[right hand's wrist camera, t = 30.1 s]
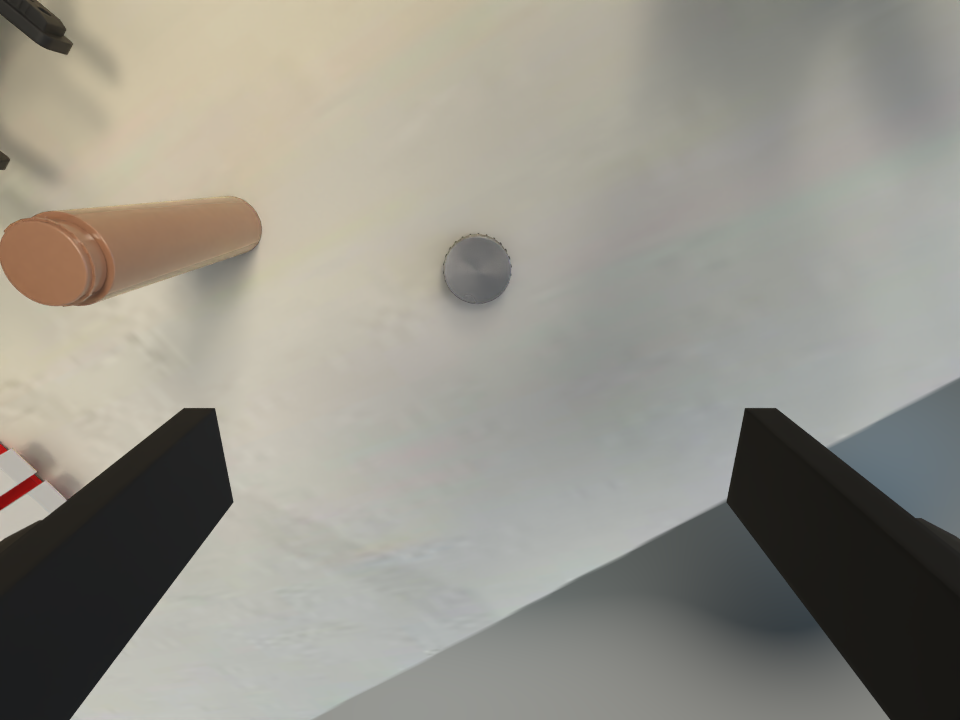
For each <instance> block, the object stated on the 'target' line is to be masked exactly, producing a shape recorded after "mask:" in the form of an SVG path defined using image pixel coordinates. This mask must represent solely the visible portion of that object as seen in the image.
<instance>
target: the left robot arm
mask: <svg viewBox="0 0 960 720" xmlns="http://www.w3.org/2000/svg"><path fill="white" fill-rule="evenodd" d="M0 14H1V15H2V16H4V17H5V18H6V19H7V20H9V21H10V22H11V23H12V24H13V25H15V26H16V27H17V28H18V29H20V30H21V31H22V32H23V33H25V34H26V35H27V36H28V37H29V38H31V39H32V40H33V41H34V42H36V43H37V44H39V45H40V46H42V47H44V48H46V49H49V50H52V51H55V52H59V53H62V54H66V55H68V53H69V51H70V49H71V47H72V45H73V43H72V42H71V41H70V40H69V39H67V38H66V37H65V36H64V33H65V31H66V28H65V27H64V25H63V24H62V22H61V21H60V19H58V18H57V17H56V16H55V15H54V14H52V13H51V12H50V11H49V10H48V9H46V8H45V7H44V6H43V5H42V4H40V3H39V2H38V1H37V0H0ZM9 161H10V159H9V157H8V156H6V155H5V154H4V153H2V152H1V151H0V170H5V168H6V167H7V165H8V163H9Z"/></svg>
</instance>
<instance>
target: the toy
mask: <svg viewBox="0 0 960 720" xmlns="http://www.w3.org/2000/svg"><path fill="white" fill-rule="evenodd" d="M36 472H37V471H36V470H35V469H34V468H33V467H32V466H31V465H30V464H29V463H27V462H26V461H25V460H24V459H23V458H22V457H21V456H20V455H19V454H18V453H17V452H16V451H15V450H14V449H13V448H11V449H10V450H7V449H5V448H4V447H3V446H2V445H1V444H0V541H2V540H3V539H4V538H6V537H8V536H10V535H12V534H14V533H16V532H18V531H19V530H21V529H23V528H25V527H27V526H29V525H31V524H33V523H35V522H37V521H39V520H43V519H44V518H45V517H47V516H48V515H49V514H51V513H52V512H53V511H54V510H56V509H57V508H58V507H59V506H61V505H62V504H63V503H64V502H66V501H67V500H66V499H65V498H64V497H63V496H62V495H61V494H60V493H59V492H58V491H57V490H56V489H55V488H54V487H53V486H52V485H51V484H50V483H49V482H47V481H44V482H42V481H41V480H40V479H39V478H38V477H36V476H35V475H34V474H35V473H36Z"/></svg>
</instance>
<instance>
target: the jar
mask: <svg viewBox="0 0 960 720" xmlns="http://www.w3.org/2000/svg"><path fill="white" fill-rule="evenodd" d="M4 232H5V234H4V235H3V237H2V239H1V242H0V263H1V266H2V269H3V271H4V273H5V275H6V276H7V278H8V280H9V281H10V282H11V283H12V285H13V286H14V287H15V288H16V289H17V290H18V291H19V292H21V293H22V294H23V295H25V296H26V297H28V298H29V299H31V300H33V301H35V302H38V303H41V304H44V305H49V306H63V307H64V306H72V305H74V306H85V305H91V304H94V303H97V302H100V301H103V300H106V299H109V298H112V297H115V296H118V295H121V294H124V293H127V292H130V291H133V290H136V289H139V288H142V287H145V286H148V285H151V284H154V283H157V282H160V281H163V280H166V279H169V278H172V277H175V276H178V275H181V274H184V273H187V272H190V271H193V270H196V269H199V268H202V267H205V266H208V265H211V264H214V263H217V262H220V261H223V260H226V259H229V258H232V257H235V256H238V255H241V254H244V253H246V252H249V251H251V250H252V249H253V248H254V247H255V246H256V245H257V244H258V242H259V240H260V237H261V222H260V219H259V217H258V215H257V213H256V211H255V210H254V209H253V208H252V207H251V205H249V204H248V203H247V202H245V201H244V200H242V199H240V198H237V197H233V196H223V197H211V198H199V199H187V200H176V201H164V202H152V203H140V204H129V205H117V206H105V207H93V208H82V209H70V210H58V211H47V212H42V213H39V214H37V215H35V216H33V217H32V218H27V219H20V220H18V221H16V222H14V223H12V224H10V225H9V226H8V227H7V228H6V229H5V230H4Z"/></svg>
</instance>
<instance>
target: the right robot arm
mask: <svg viewBox="0 0 960 720" xmlns="http://www.w3.org/2000/svg"><path fill="white" fill-rule="evenodd" d="M232 503H233V498H232V492H231V487H230V482H229V477H228V472H227V467H226V462H225V457H224V452H223V447H222V442H221V437H220V432H219V426H218V421H217V416H216V411H215V408H184V409H182V410H181V411H180V412H179V413H177V414H176V415H175V416H173V417H172V418H171V419H170V420H168V421H167V422H166V423H165V424H163V425H162V426H161V427H160V428H158V429H157V430H156V431H154V432H153V433H152V434H151V435H149V436H148V437H147V438H146V439H144V440H143V441H142V442H141V443H139V444H138V445H137V446H135V447H134V448H133V449H132V450H130V451H129V452H128V453H127V454H125V455H124V456H123V457H122V458H120V459H119V460H118V461H116V462H115V463H114V464H113V465H111V466H110V467H109V468H108V469H106V470H105V471H104V472H102V473H101V474H100V475H99V476H97V477H96V478H95V479H94V480H92V481H91V482H90V483H89V484H87V485H86V486H85V487H83V488H82V489H81V490H80V491H78V492H77V493H76V494H75V495H73V496H72V497H71V498H70V499H68V500H67V501H66V502H64V503H63V504H62V505H61V506H59V507H58V508H57V509H56V510H54V511H53V512H52V513H51V514H49V515H48V516H47V517H45V518H44V519H43V520H39V521H37V522H35V523H33V524H31V525H29V526H27V527H25V528H23V529H21V530H19V531H18V532H16V533H14V534H12V535H10V536H8V537H6V538H4V539H3V540H2V541H0V720H70V719H71V717H72V716H73V715H74V713H75V712H76V711H77V709H78V708H79V707H80V705H81V704H82V703H83V701H84V700H85V699H86V697H87V696H88V695H89V693H90V692H91V691H92V689H93V688H94V687H95V685H96V684H97V683H98V681H99V680H100V679H101V677H102V676H103V675H104V673H105V672H106V671H107V669H108V668H109V667H110V665H111V664H112V663H113V661H114V660H115V659H116V657H117V656H118V655H119V653H120V652H121V651H122V650H123V648H124V647H125V646H126V644H127V643H128V642H129V640H130V639H131V638H132V636H133V635H134V634H135V632H136V631H137V630H138V628H139V627H140V626H141V624H142V623H143V622H144V620H145V619H146V618H147V616H148V615H149V614H150V612H151V611H152V610H153V608H154V607H155V606H156V604H157V603H158V602H159V600H160V599H161V598H162V596H163V595H164V594H165V592H166V591H167V590H168V588H169V587H170V586H171V584H172V583H173V582H174V580H175V579H176V578H177V576H178V575H179V574H180V572H181V571H182V570H183V568H184V567H185V566H186V564H187V563H188V562H189V561H190V559H191V558H192V557H193V555H194V554H195V553H196V551H197V550H198V549H199V547H200V546H201V545H202V543H203V542H204V541H205V539H206V538H207V537H208V535H209V534H210V533H211V531H212V530H213V529H214V527H215V526H216V525H217V523H218V522H219V521H220V519H221V518H222V517H223V515H224V514H225V513H226V511H227V510H228V509H229V507H230V506H231V505H232ZM727 503H728V505H729V506H730V507H731V509H732V510H733V511H734V513H735V514H736V515H737V517H738V518H739V519H740V521H741V522H742V523H743V525H744V526H745V527H746V529H747V530H748V531H749V533H750V534H751V535H752V537H753V538H754V539H755V541H756V542H757V543H758V545H759V546H760V547H761V549H762V550H763V551H764V553H765V554H766V555H767V556H768V558H769V559H770V560H771V562H772V563H773V564H774V566H775V567H776V568H777V570H778V571H779V572H780V574H781V575H782V576H783V578H784V579H785V580H786V582H787V583H788V584H789V586H790V587H791V588H792V590H793V591H794V592H795V594H796V595H797V596H798V598H799V599H800V600H801V602H802V603H803V604H804V606H805V607H806V608H807V610H808V611H809V612H810V614H811V615H812V616H813V618H814V619H815V620H816V622H817V623H818V624H819V626H820V627H821V628H822V630H823V631H824V632H825V633H826V635H827V636H828V638H829V639H830V640H831V642H832V643H833V644H834V646H835V647H836V648H837V649H838V651H839V652H840V653H841V655H842V656H843V657H844V659H845V660H846V661H847V663H848V664H849V665H850V667H851V668H852V669H853V671H854V672H855V673H856V675H857V676H858V677H859V679H860V680H861V681H862V683H863V684H864V685H865V687H866V688H867V689H868V691H869V692H870V693H871V695H872V696H873V697H874V699H875V700H876V701H877V703H878V704H879V705H880V707H881V708H882V709H883V711H884V712H885V713H886V715H887V716H888V717H889V719H890V720H960V539H959V538H957V537H956V536H954V535H952V534H950V533H949V532H947V531H945V530H943V529H941V528H939V527H937V526H935V525H933V524H931V523H929V522H927V521H926V520H924V519H922V518H914V517H913V516H912V515H911V514H909V513H908V512H907V511H906V510H904V509H903V508H902V507H901V506H899V505H898V504H897V503H896V502H894V501H893V500H892V499H890V498H889V497H888V496H887V495H885V494H884V493H883V492H882V491H880V490H879V489H878V488H877V487H875V486H874V485H873V484H871V483H870V482H869V481H868V480H866V479H865V478H864V477H863V476H861V475H860V474H859V473H858V472H856V471H855V470H854V469H852V468H851V467H850V466H849V465H847V464H846V463H845V462H844V461H842V460H841V459H840V458H838V457H837V456H836V455H835V454H833V453H832V452H831V451H830V450H828V449H827V448H826V447H825V446H823V445H822V444H821V443H819V442H818V441H817V440H816V439H814V438H813V437H812V436H811V435H809V434H808V433H807V432H806V431H804V430H803V429H802V428H800V427H799V426H798V425H797V424H795V423H794V422H793V421H792V420H790V419H789V418H788V417H787V416H785V415H784V414H783V413H781V412H780V411H779V410H778V409H776V408H745V411H744V416H743V421H742V426H741V432H740V437H739V442H738V447H737V452H736V457H735V462H734V467H733V472H732V477H731V482H730V487H729V492H728V498H727Z"/></svg>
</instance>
